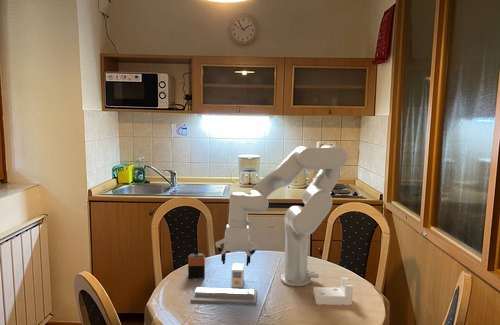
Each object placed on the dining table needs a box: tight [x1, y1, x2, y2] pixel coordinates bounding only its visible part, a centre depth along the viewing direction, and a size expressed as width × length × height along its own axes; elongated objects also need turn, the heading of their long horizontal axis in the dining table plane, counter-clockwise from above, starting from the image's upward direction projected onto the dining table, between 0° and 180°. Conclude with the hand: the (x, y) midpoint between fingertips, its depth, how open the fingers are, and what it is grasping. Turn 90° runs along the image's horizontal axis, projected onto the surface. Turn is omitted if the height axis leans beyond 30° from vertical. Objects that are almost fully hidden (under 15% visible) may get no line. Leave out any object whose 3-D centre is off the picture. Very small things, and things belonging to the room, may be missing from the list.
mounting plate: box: [190, 286, 258, 306], centre depth 142 cm, size 24×10×1 cm, turn 87°
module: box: [231, 262, 245, 288], centre depth 153 cm, size 4×8×7 cm, turn 177°
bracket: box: [312, 277, 354, 306], centre depth 140 cm, size 13×7×8 cm, turn 90°
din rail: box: [195, 287, 255, 298], centre depth 141 cm, size 22×4×2 cm, turn 87°
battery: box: [187, 252, 206, 280], centre depth 159 cm, size 4×7×10 cm, turn 96°
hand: (235, 263), depth 152 cm, fingers open, 9 cm apart
